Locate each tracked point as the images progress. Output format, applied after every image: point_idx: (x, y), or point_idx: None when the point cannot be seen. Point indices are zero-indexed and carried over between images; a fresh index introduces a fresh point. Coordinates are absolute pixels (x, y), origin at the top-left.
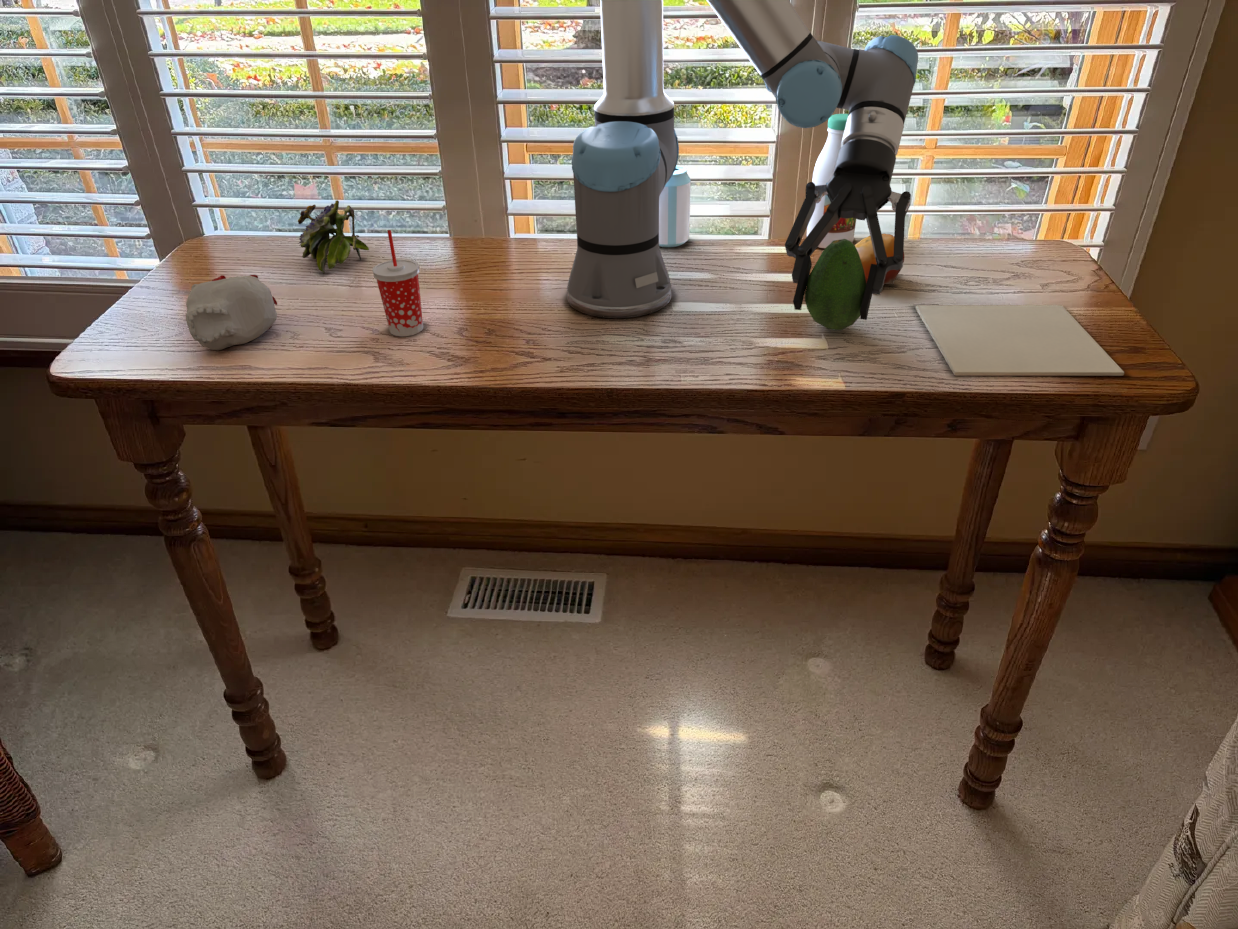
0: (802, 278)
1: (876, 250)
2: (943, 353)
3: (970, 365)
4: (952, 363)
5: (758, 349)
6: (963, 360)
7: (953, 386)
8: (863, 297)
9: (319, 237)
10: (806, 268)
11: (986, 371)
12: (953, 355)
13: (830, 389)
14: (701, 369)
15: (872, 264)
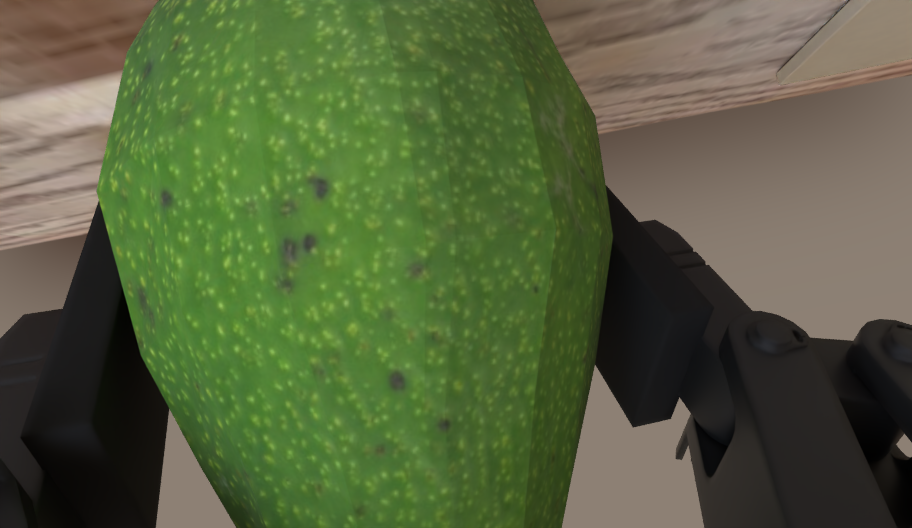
0: None
1: (711, 521)
2: (847, 16)
3: (868, 53)
4: (812, 60)
5: (75, 143)
6: (874, 40)
7: (731, 100)
8: None
9: None
10: (160, 440)
11: (887, 63)
12: (870, 25)
13: None
14: (12, 216)
15: (639, 421)
